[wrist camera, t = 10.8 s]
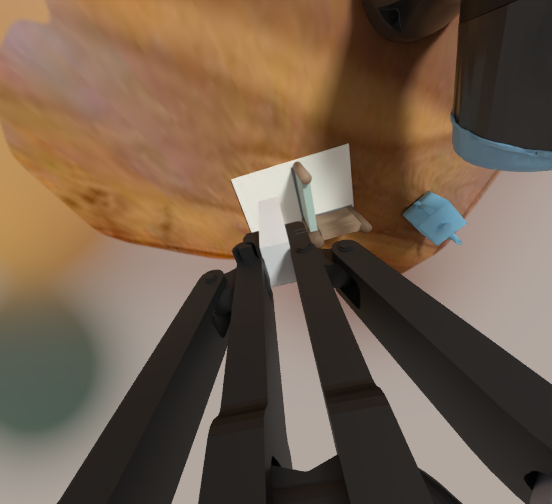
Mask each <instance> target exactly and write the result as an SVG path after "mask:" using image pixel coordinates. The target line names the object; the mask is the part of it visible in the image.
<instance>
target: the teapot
mask: <svg viewBox="0 0 552 504" xmlns="http://www.w3.org/2000/svg"><path fill="white" fill-rule="evenodd" d="M402 215H403V216H404V217H405V218H406V219H407V220H408V221H409V222H410V223H411V224H412V225H413V226H414V227H415V228H416V229H417V230H418V231H419V232H420V233H421V234H423V235H424V236H425V237H427V238H428V239H429V240H431V241H432V242H433V243H434V244H436V245H437V246H438V245H439V244H440V243H442V242H443V241H444V240H446V239H447V238H449V239H451V240H453V241H454V242H455V243H457V244H461V240H460V239H459V238H458V237H457V236H456V235H455V234H454V233H455V232H456V231H458V230H459V229H460V228H461V227H463V226H464V225H465V224H467V222H466V221H465V220H464V219H463V217H462V216H461V215H460V214H459V212H458V211H457V210H456V209H455V208H454V206H453V205H452V204H451V203H450V202H449V201H448V200H446V199H444V198H442V197H440V196H438V195H436V194H434V193H432V192H430V191H428V192H426V193H425V194H424V195H423V196H422V197H421V198H420V199H419V200H417V201H416V202H415V203H414V204H413V205H412V206H411V207H410V208H408V209H407V210H406V211H405V212H404V213H403V214H402Z"/></svg>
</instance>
